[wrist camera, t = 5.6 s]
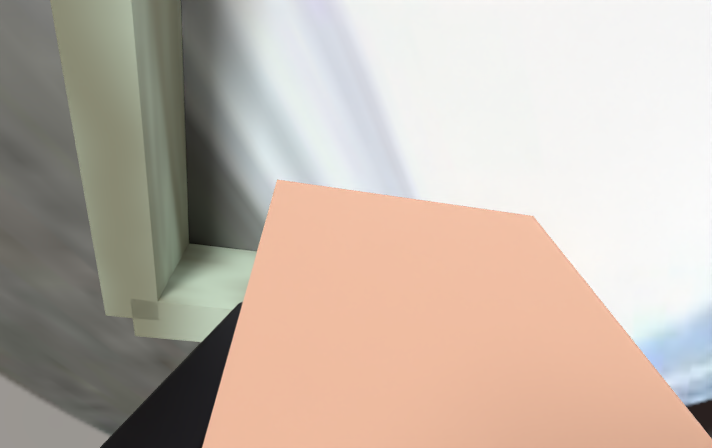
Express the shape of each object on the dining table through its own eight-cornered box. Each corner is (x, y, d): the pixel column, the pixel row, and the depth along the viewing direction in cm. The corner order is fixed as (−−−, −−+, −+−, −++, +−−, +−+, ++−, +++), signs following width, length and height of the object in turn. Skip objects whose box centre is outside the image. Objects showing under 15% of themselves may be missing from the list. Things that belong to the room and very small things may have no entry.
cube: (533, 215, 8) (749, 486, 4) (456, 381, 11) (536, 653, 6) (277, 179, 8) (199, 454, 3) (260, 364, 10) (205, 654, 6)
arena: (841, -208, 12) (1040, -277, 9) (546, 315, 23) (584, 376, 19) (75, -451, 9) (-72, -688, 6) (147, 272, 20) (109, 333, 17)
